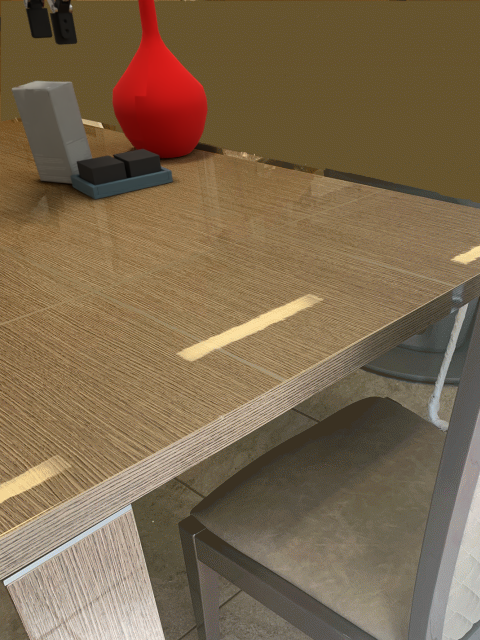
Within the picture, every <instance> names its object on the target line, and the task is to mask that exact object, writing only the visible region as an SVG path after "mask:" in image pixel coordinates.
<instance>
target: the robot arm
mask: <svg viewBox="0 0 480 640" xmlns="http://www.w3.org/2000/svg"><path fill="white" fill-rule="evenodd" d="M45 1H47V3H48V5H49V7H50V10H51V12H50V13H49V11H48V7H45ZM71 2H72V0H23V5H24V7H25V12H26V17H27V22H28V25H29V31H30V36H31V37H32V39H49V38H53V37H54V42H55V44H56V45H58V46H59V45H60V46H63V45H76V44H77V43H78V37H77V32H76V27H75V21H74V15H73V6H72V3H71Z"/></svg>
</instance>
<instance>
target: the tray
mask: <svg viewBox="0 0 480 640" xmlns="http://www.w3.org/2000/svg"><path fill="white" fill-rule="evenodd" d="M161 170H162V171H161V172H156V173H151V174H147V175H142V176H137V177H133V178H128V179H123V180H119V181H114V182H109V183H105V184H100V185H96V186H95V185H93V184H91V183H89V182H87V181H85V180H83V179H81V178H80V175H79V174H76V175H71V176H70V177H71V181H72V184H71V185H72V188H74V189H76V190H78V191H79V192H81V193H83V194H85V196H86V195H87V196H88V197H90V198H92V199H94V200H99V199H104V198H107V197H111V196H117V195H121V194H124V193H130V192H134V191H138V190H142V189H147V188H153V187H157V186H160V185H165V184H169V183H173V182H174V180H173V171H172V170H171V169H169V168H166V167H164V166H162V165H161Z"/></svg>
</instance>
